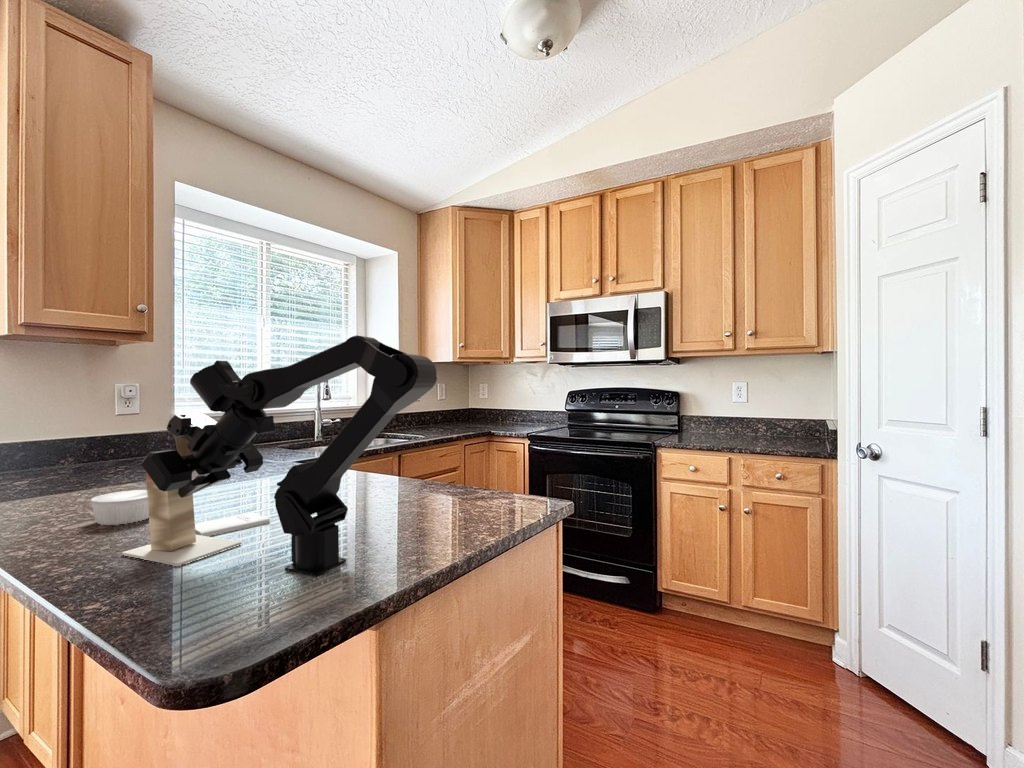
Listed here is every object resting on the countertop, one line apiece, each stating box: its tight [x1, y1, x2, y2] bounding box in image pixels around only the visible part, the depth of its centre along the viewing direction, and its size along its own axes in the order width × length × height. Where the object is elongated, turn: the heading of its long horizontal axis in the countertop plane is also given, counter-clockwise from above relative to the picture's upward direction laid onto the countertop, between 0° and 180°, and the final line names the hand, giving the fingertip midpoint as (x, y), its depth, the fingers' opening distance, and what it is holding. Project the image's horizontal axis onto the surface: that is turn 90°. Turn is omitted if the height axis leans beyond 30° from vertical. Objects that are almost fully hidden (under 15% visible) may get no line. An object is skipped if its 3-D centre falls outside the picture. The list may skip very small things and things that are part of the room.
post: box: [145, 472, 196, 551], centre depth 84 cm, size 4×4×13 cm
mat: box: [121, 535, 242, 567], centre depth 84 cm, size 14×11×1 cm
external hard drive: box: [195, 511, 271, 537], centre depth 98 cm, size 2×8×12 cm
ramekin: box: [90, 489, 149, 526], centre depth 104 cm, size 11×11×5 cm
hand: (181, 495), depth 84 cm, fingers closed
